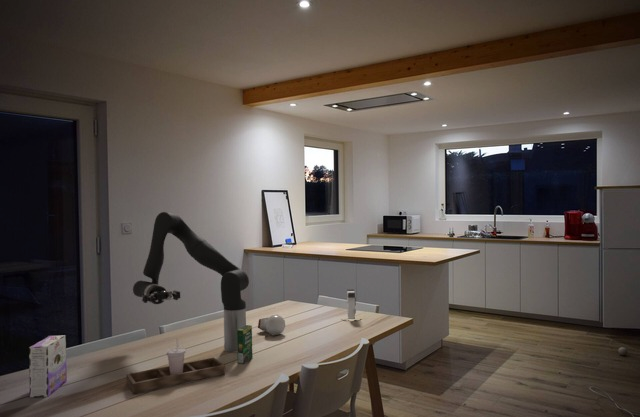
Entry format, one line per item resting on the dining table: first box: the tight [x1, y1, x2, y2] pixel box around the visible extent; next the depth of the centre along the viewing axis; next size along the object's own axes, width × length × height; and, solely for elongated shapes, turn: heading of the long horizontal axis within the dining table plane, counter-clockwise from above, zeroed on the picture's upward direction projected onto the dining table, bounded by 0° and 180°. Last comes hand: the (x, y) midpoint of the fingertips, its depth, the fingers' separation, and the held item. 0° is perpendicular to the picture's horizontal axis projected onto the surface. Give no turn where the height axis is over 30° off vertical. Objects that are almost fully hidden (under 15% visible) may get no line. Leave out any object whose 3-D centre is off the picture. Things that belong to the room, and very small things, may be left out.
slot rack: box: [125, 357, 226, 396], centre depth 165 cm, size 31×11×4 cm, turn 123°
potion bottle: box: [257, 314, 286, 336], centre depth 225 cm, size 9×10×15 cm
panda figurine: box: [346, 288, 357, 319], centre depth 252 cm, size 12×11×15 cm
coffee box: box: [237, 324, 253, 365], centre depth 184 cm, size 8×3×13 cm, turn 162°
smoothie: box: [166, 337, 187, 375], centre depth 165 cm, size 6×6×14 cm
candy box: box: [28, 334, 68, 398], centre depth 158 cm, size 14×6×16 cm, turn 5°
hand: (166, 298), depth 184 cm, fingers open, 8 cm apart
